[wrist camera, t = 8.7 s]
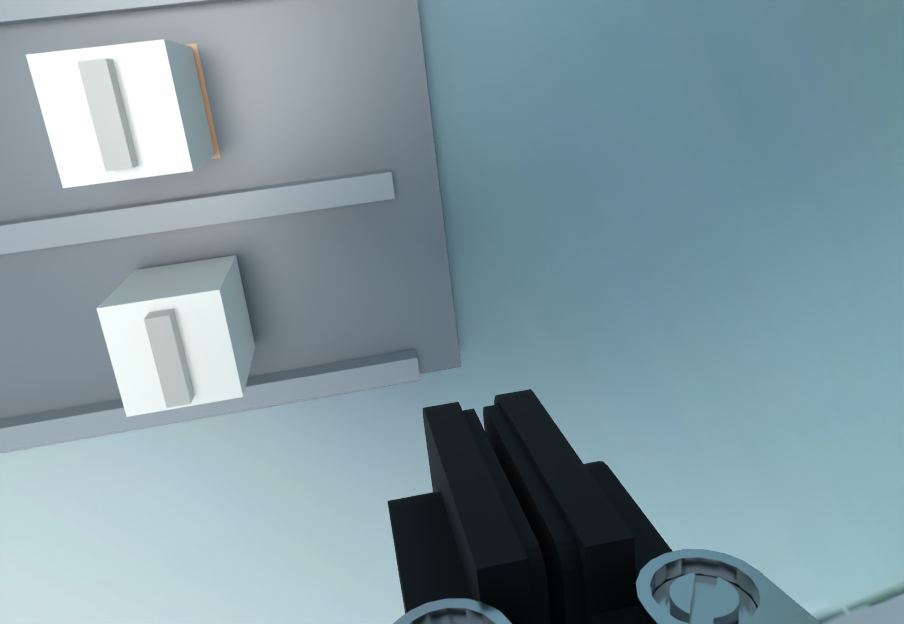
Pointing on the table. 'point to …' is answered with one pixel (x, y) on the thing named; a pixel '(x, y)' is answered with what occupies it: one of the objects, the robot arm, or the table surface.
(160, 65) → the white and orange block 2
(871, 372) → the table surface
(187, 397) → the pale grey rectangular block
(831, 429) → the table surface
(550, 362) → the table surface
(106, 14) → the grey compartment tray
